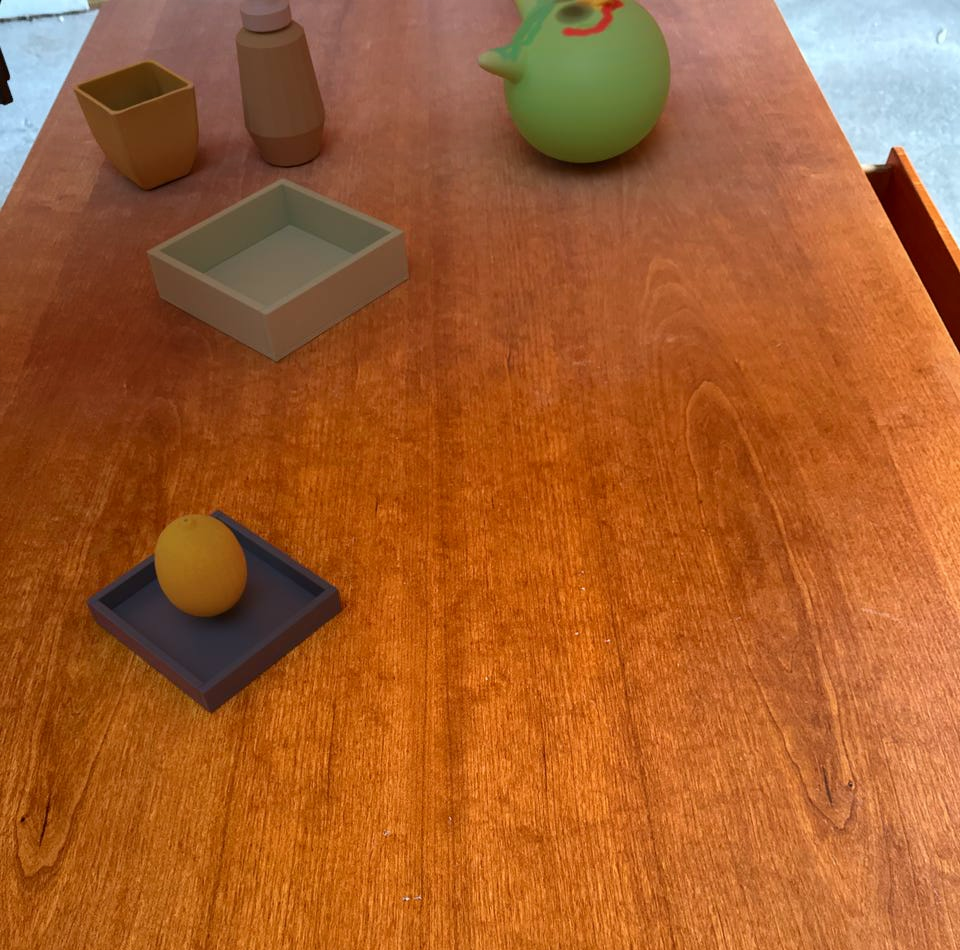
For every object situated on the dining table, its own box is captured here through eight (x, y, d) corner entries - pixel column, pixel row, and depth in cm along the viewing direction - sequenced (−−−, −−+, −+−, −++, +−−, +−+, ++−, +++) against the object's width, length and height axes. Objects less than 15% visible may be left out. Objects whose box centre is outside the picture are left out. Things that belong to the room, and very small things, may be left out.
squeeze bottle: (280, 182, 116) (241, -15, 103) (236, 154, 120) (194, -38, 107) (346, 153, 119) (318, -41, 106) (302, 127, 124) (269, -63, 110)
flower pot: (173, 145, 123) (150, 56, 116) (217, 174, 118) (195, 83, 111) (98, 175, 119) (69, 85, 112) (139, 206, 115) (112, 114, 108)
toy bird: (660, 195, 110) (670, 31, 99) (482, 191, 113) (473, 30, 102) (670, 107, 122) (680, -49, 111) (508, 105, 124) (503, -48, 113)
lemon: (274, 596, 78) (249, 506, 72) (222, 653, 75) (191, 564, 69) (209, 569, 80) (180, 479, 74) (155, 623, 77) (120, 534, 71)
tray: (94, 620, 78) (85, 600, 77) (224, 529, 83) (218, 508, 82) (211, 714, 72) (203, 693, 71) (343, 609, 77) (338, 588, 76)
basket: (159, 297, 104) (145, 251, 100) (291, 223, 111) (282, 177, 107) (276, 362, 96) (265, 314, 93) (409, 277, 103) (404, 230, 100)
